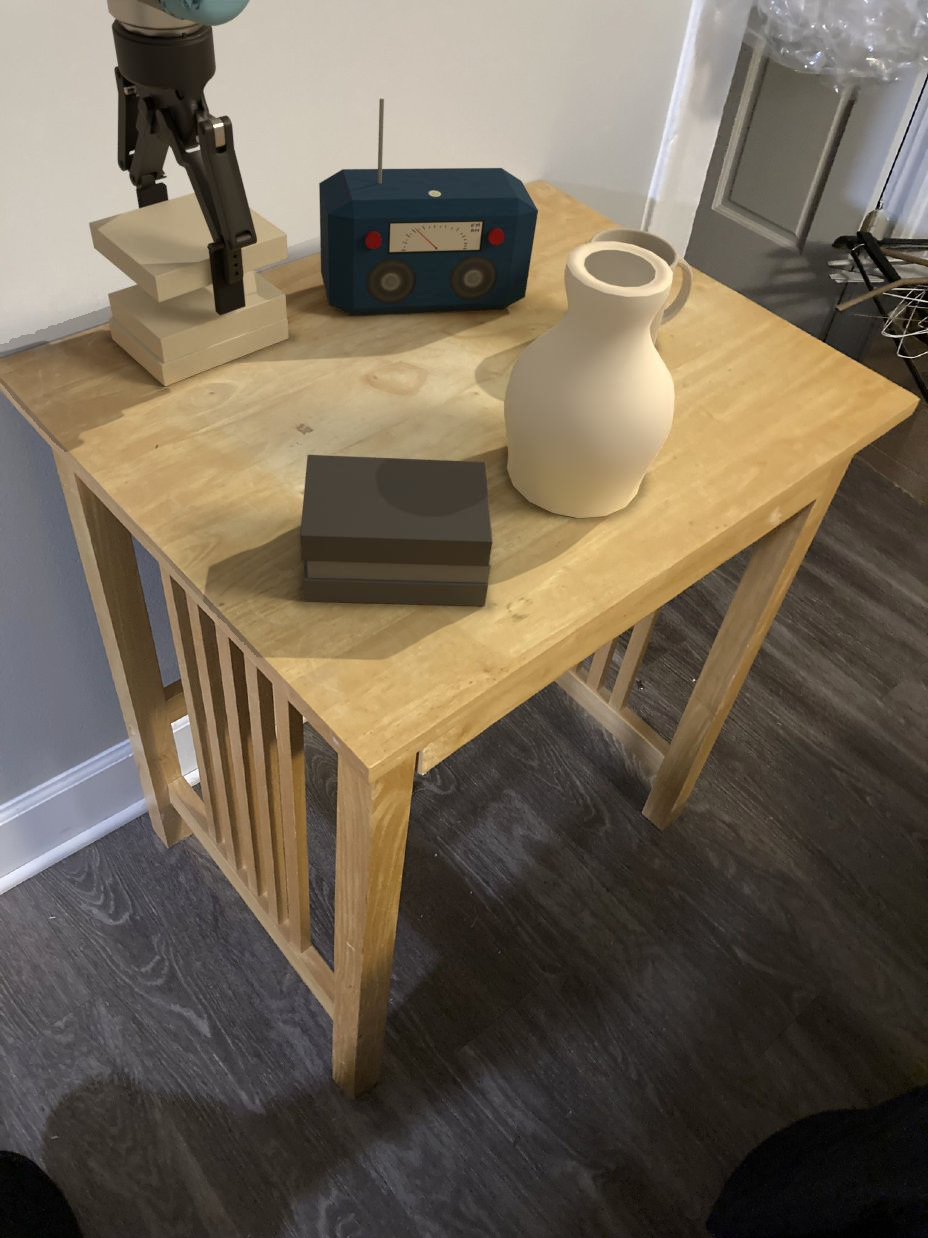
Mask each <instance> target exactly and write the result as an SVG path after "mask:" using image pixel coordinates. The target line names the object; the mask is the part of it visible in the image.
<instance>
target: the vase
mask: <svg viewBox="0 0 928 1238" xmlns="http://www.w3.org/2000/svg"><path fill="white" fill-rule="evenodd" d="M672 276H673V272H672V270H671V269H670V267H669V266H668V264H667V263H666V261H664V260H663V259H661V258H660V257H659V256H657V255H656V254H654V253H653V252H651V251H648V250H646V249H643V248H641V247H638V246H635V245H632V244H627V243H621V242H615V241H603V242H591V243H589V242H588V243H584V244H580V245H578V246H577V247H576V248H574V249H572V250H571V251H570V252H569V253H568V256H567V259H566V263H565V268H564V275H563V277H564V278H563V281H564V288H565V294H566V299H567V308H566V309H567V310H566V312H565V313H564V315H563V317H562V318H561V319H560V320H559V322H558V323H557V324H555V325H553V326H552V327H550V328H549V329H547V330H546V331H545V332H543V333H542V334H540V335H539V336H537V338H535V339H534V340H533V341H532V342H531V343H529V344H528V345H527V346H526V347H525V348H524V349H523V351H521V352H520V353H519V355H518V356H517V358H516V359H515V361H514V362H513V365H512V369H511V371H510V374H509V378H508V381H507V382H508V383H507V386H506V390H505V393H504V394H505V395H504V400H503V415H504V416H503V417H504V427H505V433H506V442H507V463H506V471H507V473H508V476H509V479H510V481H511V484H512V486H513V487H514V488H515V489H516V490H517V491H518V492H519V493H520V494H521V496H523V497H524V498H525V499H526V500H527V501H528V502H529V503H531V504H534V505H535V506H537V507H539V508H542V509H543V510H545V511H547V512H549V513H552V514H555V515H559V516H566V517H572V518H577V519H587V518H599V517H601V518H602V517H606V516H608V515H611V514H614V513H615V512H618V511H620V510H623V509H625V508H627V506H628V505H629V504H630V502H631V501H632V500H633V499H634V498H635V497H636V496H637V494H638V493H639V489H640V485H641V483H642V482H643V479H644V477H645V475H646V473H647V472H648V470H649V469H650V467H651V465H652V464H653V462H654V461H655V460H656V458H657V456H658V455H659V453H660V452H661V450H662V448H663V447H664V445H665V443H666V441H667V439H668V437H669V435H670V432H671V429H672V426H673V420H674V413H675V398H676V397H675V395H676V393H675V384H674V383H675V382H674V380H673V377H672V374H671V372H670V371H669V369H668V367H667V365H666V364H665V362H664V360H663V358H662V357H661V355H660V353H659V352H658V350H657V348H656V347H655V346H654V345H653V343H652V339H651V335H650V325H651V323H652V320H653V319H654V317H655V315H656V314H657V312H658V311H659V310H660V308H661V307H662V305H663V304H664V302H665V301H666V299H667V297H668V298H669V295H670V293H671V289H672V285H673V281H672ZM667 300H668V299H667Z"/></svg>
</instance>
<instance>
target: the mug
mask: <svg viewBox="0 0 928 1238" xmlns="http://www.w3.org/2000/svg"><path fill="white" fill-rule="evenodd" d="M603 241H615V242H621V243H627V244H632V245H635V246H638V247H641V248H643V249H646V250H648V251H651V252H653V253H654V254H656V255H657V256H659V257H660V258H661V259H663V260H664V261H666V263H667V264H668V266H669V267H670V269H671V270H672V272H673V276H672V282H673V281H674V277H675V274H676V270H677V267H679V268H680V269H681V272H682V281H681V286H680V289H679V291H678V293H677V295H676V297H675V299H674V300H673V301H672V303H671V304H670V305H669V306H668V307H667V302H668V299H669V296H668V297H667V299H666V301H665V302H664V304H663V305H662V307H661V308H660V310H659V311H658V312H657V314H656V315H655V317H654V319H653V320H652V323H651V325H650V335H651V339H652V343H653V345H654V347H655V345H656V341H657V339H658V334H659V332H660V327H661V326H662V325H665V324H667V323H669V322H670V321H672V320H673V319H674V318H676V316H678V314H679V313H680V312H681V311H682V310H683V308H684V307H685V305H686V304H687V302H688V300H689V298H690V295H691V292H692V289H693V285H694V284H693V283H694V274H693V270H692V267H691V265H690V264H689V263H688V262H687V261H686V260H685V259H684V257H682V255H679V254H678V252H677V249H676V248H675V247H674V246H673V245H672V244H671V243H670V242H669V241H668V240H666V239H665V238H663V237H660V236H659V235H656V234H654V233H652V232H649V231H645V230H641V229H635V228H628V227H627V228H626V227H624V228H623V227H616V228H609V229H604V230H601V231H599V232H596V233H595V234H594V235H592V237H591V238H590V240H589V242H588V243H591V242H603Z"/></svg>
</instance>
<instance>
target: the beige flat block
mask: <svg viewBox="0 0 928 1238" xmlns="http://www.w3.org/2000/svg"><path fill="white" fill-rule="evenodd" d="M249 209H250V212H251V216H252V220H253V224H254V228H255V232H256V236H257V243H256V244H253V245H250V246H247V247H244V248H241V251H242V262H243V264H242V265H243V273H246V272H249V271H252V270H254V271H255V270H259V269H260V268H263V267H264V268H265V267H266V266H269V265H272V264H275V263H278V262H281V261H284V260H287V259H289V250H288V249H289V248H288V234H287V232H285V231H284V230H282V229H281V228H280V227H278V226H276V225H275V224H273V222H271V221H270V220H268V219H266V217H264V216H262V215H261V214H259V212H257V211H256V210H254V209H252V208H251V207H249ZM88 226H89V229H90V235H91V239H92V245H93V249H94V250H96V251H97V252H98V253H99V254H100V255H102V256H103V257H104V258H105V259H106V260H108V261H109V262H110V263H111V264H112V265H114V266H115V267H116V268H117V269H119V270H120V271H121V272H122V273H123V274H124V275H125V276H127V277H128V278H129V279H130V280H131V281H133V282H134V283H135V285H137V284H138V285H139V286H140V287H141V288H142V289H144V290H145V291H146V292H147V293H148V294H150V295H151V296H152V297H153V298H154V299H156V300H157V301H158V302H162V301H165V300H167V299H170V298H173V297H176V296H179V295H182V294H185V293H188V292H191V291H194V290H197V289H200V288H202V287H205V286H208V285H211V284H213V283H212V275H211V266H210V258H209V249H208V248H207V246H208V244H210V243H213V239H212V236H211V234H210V231H209V229H208V226H207V223H206V221H205V218H204V216H203V213H202V211H201V208H200V205H199V203H198V200H197V198H196V195H195V192H191V193H188V194H185V195H180V196H178V197H174V198H170V199H169V200H167V201H164V202H160V203H157V204H153V205H150V206H146V207H143V208H139V207H138V208H136V209H133V210H128V211H125V212H122V213H119V214H115V215H111V216H107V217H105V218H101V219H97V220H94V221H90V222H88Z"/></svg>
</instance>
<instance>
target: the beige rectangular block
mask: <svg viewBox="0 0 928 1238" xmlns="http://www.w3.org/2000/svg"><path fill="white" fill-rule="evenodd" d="M243 283H244V294H245V305H246V306H245V307H243V308H240V309H237V310H234V311H232V312H229V313H226V314H223V315H221V316H220V315H219V314H218V313H217V312H216V310H215V302H214V293H213V284H211V285H208V286H205V287H202V288H200V289H197V290H194V291H191V292H188V293H185V294H182V295H179V296H176V297H173V298H170V299H167V300H165V301H162V302H158V301H157V300H156V299H154V298H153V297H152V296H151V295H150V294H148V293H147V292H146V291H145V290H144V289H142V288H141V287H140V286H139V285H138V284H135V285H131V286H127V287H125V288H122V289H119V290H115V291H112V292H110V293H108V294H107V296H108V301H109V306H110V307H109V308H110V312H111V316H110V317H108V318H107V320H108V326H109V329H110V330H109V331H110V335H111V339H112V340H113V341H114V343H116V344H117V345H118V346H119V347H120V348H122V349H123V350H124V351H125V352H126V353H127V354H128V355H129V356H130V357H132V358H133V359H134V360H135V361H136V362H137V363H138V364H139V365H140V366H142V367H143V369H145V370H146V371H147V372H148V373H149V374H150V375H151V376H152V377H154V379H156V380H157V381H158V382H159V383H160V384H161V385H163V386H164V387H167V386H169V385H173V384H175V383H178V382H180V381H182V380H186V379H188V378H190V377H193V376H195V375H199V374H201V373H203V372H206V371H208V370H211V369H213V368H216V367H219V366H221V365H224V364H226V363H229V362H232V361H234V360H237V359H239V358H242V357H245V356H247V355H249V354H251V353H255V352H258V351H260V350H263V349H265V348H267V347H270V346H273V345H275V344H278V343H280V342H283V341H285V340H288V339H289V321H288V317H287V299H286V298H287V297H286V294H285V293H284V292H283V291H281V290H280V289H279V288H277V286H276V285H274V284H272V283H271V282H269V281H268V280H267V279H266V278H264V277H263V276H261V275H260V274H259V273H258V272H256V271H255V270H252V271H249V272H246V273H244V276H243Z"/></svg>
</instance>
